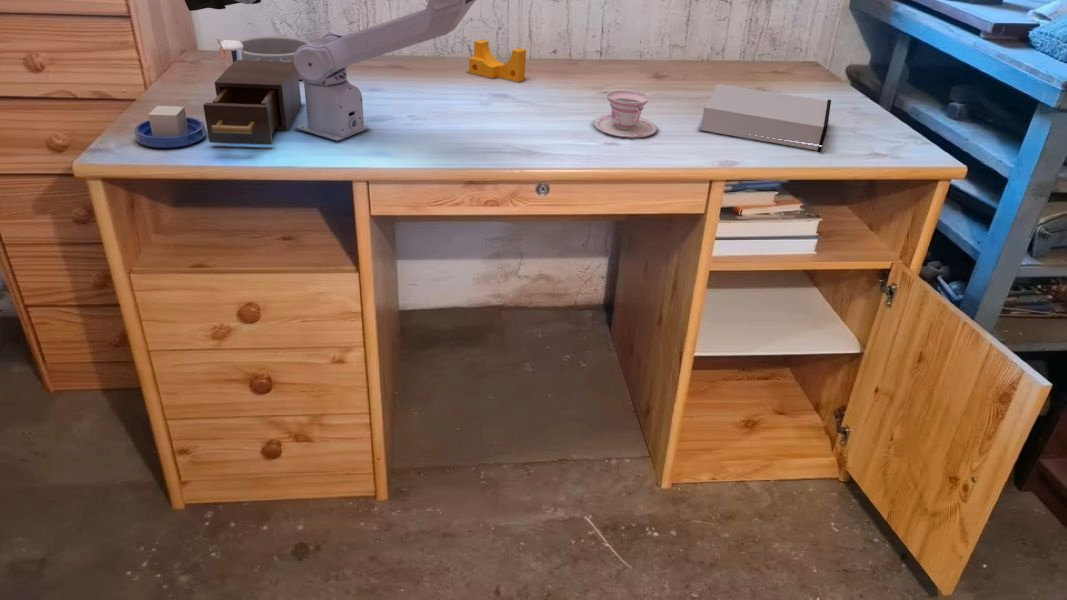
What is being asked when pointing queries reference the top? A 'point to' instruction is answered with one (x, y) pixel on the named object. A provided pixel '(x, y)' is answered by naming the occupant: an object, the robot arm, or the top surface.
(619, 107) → the teacup
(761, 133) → the disc drive
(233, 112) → the drawer
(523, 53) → the pipe clamp
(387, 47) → the robot arm
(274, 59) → the dog bowl
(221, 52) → the milkshake
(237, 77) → the cabinet
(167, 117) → the block
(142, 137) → the blue saucer
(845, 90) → the top surface
